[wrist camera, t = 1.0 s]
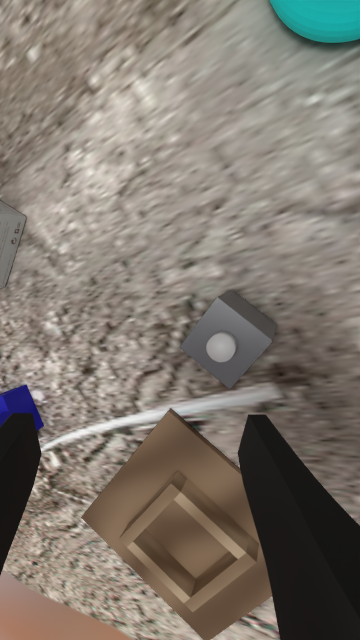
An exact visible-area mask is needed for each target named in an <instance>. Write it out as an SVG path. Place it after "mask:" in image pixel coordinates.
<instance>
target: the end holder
mask: <svg viewBox="0 0 360 640" xmlns="http://www.w3.org/2000/svg"><path fill="white" fill-rule="evenodd" d="M81 518H82V519H83V520H84V521H85V522H86V523H87V524H88V525H89V526H90V527H91V528H92V529H93V530H94V531H95V532H96V533H97V534H98V535H99V536H100V537H101V538H102V539H103V540H104V541H105V542H106V543H107V544H108V545H109V546H110V547H111V548H112V549H113V550H114V551H115V552H116V553H117V554H118V555H119V556H120V557H121V558H122V559H123V560H124V561H125V562H126V563H127V564H128V565H129V566H130V567H131V568H132V569H133V570H134V571H135V572H136V573H137V574H138V575H139V576H140V577H141V578H142V579H143V580H144V581H145V582H146V583H147V584H148V585H149V586H150V587H151V588H152V589H153V590H154V591H155V592H156V593H157V594H158V595H159V596H160V597H161V598H162V599H163V600H164V601H165V602H166V603H167V604H168V605H169V606H170V607H171V608H172V609H173V610H174V611H175V612H176V613H177V614H178V615H179V616H180V617H181V618H183V619H184V620H185V621H186V622H187V623H188V624H189V625H190V626H191V627H192V628H193V629H194V630H195V631H196V632H197V633H198V634H199V635H200V636H201V637H202V638H203V639H204V640H210V639H212V638H213V637H215V636H216V635H217V634H219V633H220V632H222V631H223V630H225V629H226V628H227V627H229V626H230V625H232V624H233V623H235V622H236V621H237V620H239V619H240V618H242V617H243V616H244V615H246V614H247V613H249V612H250V611H252V610H253V609H254V608H256V607H257V606H259V605H260V604H262V603H263V602H264V601H266V600H267V599H269V598H270V597H271V596H272V592H271V587H270V582H269V577H268V572H267V567H266V563H265V559H264V555H263V552H262V548H261V545H260V541H259V538H258V534H257V531H256V527H255V524H254V520H253V517H252V513H251V510H250V506H249V503H248V499H247V496H246V492H245V488H244V485H243V480H242V475H241V470H240V469H239V468H238V467H237V466H236V465H235V464H233V463H232V462H231V461H230V460H229V459H228V458H227V457H225V456H224V455H223V454H222V453H221V452H220V451H219V450H217V449H216V448H215V447H214V446H213V445H212V444H211V443H210V442H208V441H207V440H206V439H205V438H204V437H203V436H202V435H200V434H199V433H198V432H197V431H196V430H195V429H194V428H192V427H191V426H190V425H189V424H188V423H187V422H186V421H184V420H183V419H182V418H181V417H180V416H179V415H178V414H176V413H175V412H174V411H173V410H172V409H171V408H170V410H169V411H168V412H167V413H166V415H165V416H164V417H163V418H162V419H161V421H160V422H159V423H158V424H157V425H156V427H155V428H154V429H153V430H152V432H151V433H150V434H149V435H148V436H147V438H146V439H145V440H144V441H143V443H142V444H141V445H140V446H139V447H138V449H137V450H136V451H135V452H134V454H133V455H132V456H131V457H130V458H129V460H128V461H127V462H126V463H125V464H124V466H123V467H122V468H121V469H120V471H119V472H118V473H117V474H116V475H115V477H114V478H113V479H112V480H111V482H110V483H109V484H108V485H107V486H106V488H105V489H104V490H103V491H102V492H101V494H100V495H99V496H98V497H97V499H96V500H95V501H94V502H93V503H92V505H91V506H90V507H89V508H88V510H87V511H86V512H85V513H84V514H83V516H82V517H81Z"/></svg>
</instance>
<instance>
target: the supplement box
mask: <svg viewBox="0 0 360 640" xmlns="http://www.w3.org/2000/svg"><path fill="white" fill-rule="evenodd" d="M25 221H26V217H25V216H24V215H22V214H21V213H19V212H18V211H16V210H14V209H13V208H11V207H9V206H8V205H6V204H5V203H3V202H1V201H0V288H4V287H5V285H6V283H7V280H8V277H9V274H10V270H11V267H12V264H13V261H14V258H15V254H16V251H17V248H18V245H19V242H20V238H21V235H22V231H23V228H24V225H25Z"/></svg>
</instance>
